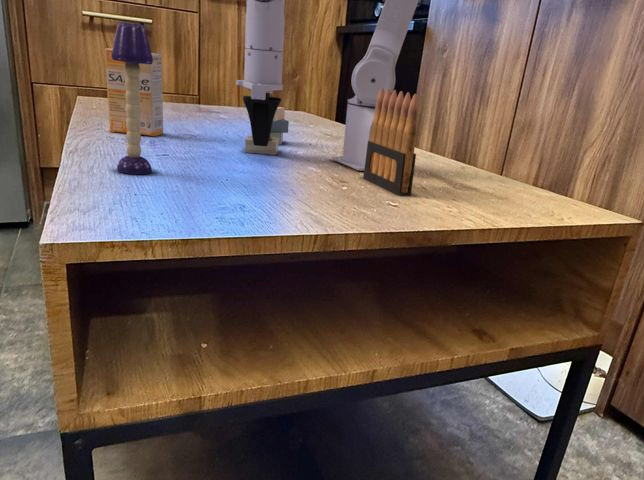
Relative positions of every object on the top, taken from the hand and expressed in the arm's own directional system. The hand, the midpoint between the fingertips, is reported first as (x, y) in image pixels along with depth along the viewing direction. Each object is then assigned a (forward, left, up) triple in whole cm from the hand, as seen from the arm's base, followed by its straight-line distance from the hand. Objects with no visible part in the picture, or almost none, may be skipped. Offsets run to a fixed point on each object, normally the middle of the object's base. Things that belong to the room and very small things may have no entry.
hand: (260, 145), depth 95 cm
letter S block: (+3, -1, -1) cm, 4 cm away
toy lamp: (-14, +22, -2) cm, 26 cm away
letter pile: (+13, -6, -1) cm, 15 cm away
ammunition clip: (-24, -9, -2) cm, 25 cm away
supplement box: (+20, +16, -2) cm, 26 cm away
